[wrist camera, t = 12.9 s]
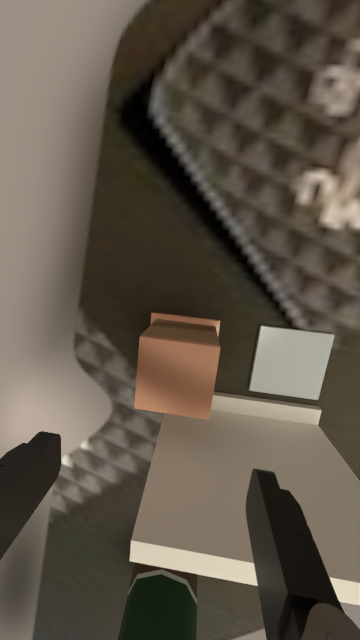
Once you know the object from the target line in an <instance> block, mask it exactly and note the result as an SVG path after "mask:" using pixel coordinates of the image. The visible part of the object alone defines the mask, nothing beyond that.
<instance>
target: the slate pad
mask: <svg viewBox="0 0 360 640" xmlns="http://www.w3.org/2000/svg"><path fill="white" fill-rule="evenodd" d="M334 336H335V335H334V334H332V333H325V332H316V331H308V330H299V329H291V328H282V327H274V326H266V325H260V326H259V331H258V337H257V342H256V348H255V353H254V359H253V364H252V370H251V375H250V381H249V386H248V388H249V391H256V392H264V393H271V394H278V395H285V396H293V397H300V398H307V399H315V400H318V398H319V394H320V390H321V386H322V382H323V379H324V375H325V371H326V367H327V363H328V359H329V355H330V351H331V347H332V344H333V340H334Z"/></svg>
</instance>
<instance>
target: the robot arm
mask: <svg viewBox="0 0 360 640" xmlns="http://www.w3.org/2000/svg"><path fill="white" fill-rule="evenodd" d="M60 468H61V437H60V435H59V434H54V433H48V432H39V433H38V434H36V436H34V437H33V438H32V440H31V441H29V443H22V444H21V445H19V446H17V447H15V448H14V449H12V450H10V451H9V452H7V453H6V454H5V455H4V456H3V457H2V458H1V459H0V560H1V558H2V557H3V555H4V554H5V552H6V551H7V550H8V548H9V547H10V545H11V544H12V542H13V541H14V539H15V538H16V537H17V535H18V533H19V532H20V531H21V529H22V528H23V527H24V525H25V524H26V522H27V521H28V519H29V518H30V517H31V515H32V514H33V512H34V510H35V509H36V508H37V506H38V505H39V503H40V502H41V501H42V499H43V498H44V496H45V495H46V493H47V492H48V491H49V489H50V488H51V486H52V485H53V483H54V482H55V480H56V479H57V477H58V474H59V471H60ZM246 519H247V525H248V531H249V537H250V543H251V549H252V555H253V561H254V566H255V572H256V578H257V584H258V590H259V596H260V602H261V608H262V614H263V620H264V626H265V632H266V638H267V640H360V629H359V628H358V627H357V626H356V625H355V623H354V622H353V621H352V620H351V619H350V618H349V617H348V616H347V615H345V613H344V611H343V609H342V607H341V605H340V603H339V600H338V598H337V595H336V593H335V590H334V588H333V585H332V583H331V581H330V578H329V576H328V573H327V571H326V568H325V566H324V563H323V561H322V558H321V556H320V553H319V551H318V548H317V546H316V543H315V541H314V540H313V536H312V533H311V531H310V528H309V526H308V525H307V521H306V518H305V516H304V514H303V511H302V509H301V506H300V504H299V503H298V502H297V500H296V499H295V498H294V496H293V495H292V494H291V492H290V491H289V490H284V489H280V486H279V484H278V481H277V478H276V475H275V473H274V472H273V471H267V470H262V469H256V468H254V469H253V470H252V474H251V479H250V483H249V488H248V492H247V497H246Z"/></svg>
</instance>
